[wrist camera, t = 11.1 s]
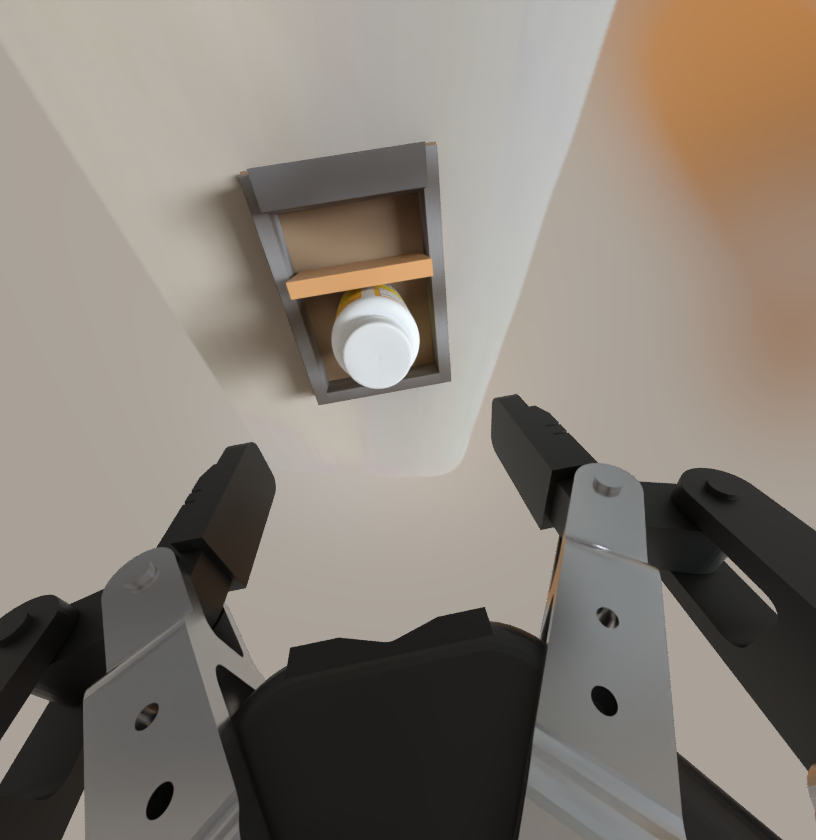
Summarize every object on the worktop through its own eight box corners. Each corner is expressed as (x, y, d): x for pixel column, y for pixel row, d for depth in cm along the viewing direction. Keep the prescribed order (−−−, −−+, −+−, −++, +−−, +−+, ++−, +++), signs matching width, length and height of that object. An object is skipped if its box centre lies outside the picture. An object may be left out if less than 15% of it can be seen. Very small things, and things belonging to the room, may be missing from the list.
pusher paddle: (299, 272, 23) (285, 282, 19) (419, 252, 23) (431, 258, 19) (303, 286, 23) (291, 299, 19) (420, 266, 24) (433, 275, 19)
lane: (243, 173, 20) (214, 161, 16) (433, 144, 21) (450, 125, 17) (319, 393, 30) (312, 420, 26) (448, 370, 30) (461, 392, 26)
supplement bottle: (342, 347, 27) (333, 404, 18) (334, 278, 24) (318, 308, 15) (405, 344, 27) (425, 398, 19) (405, 276, 24) (428, 304, 16)
